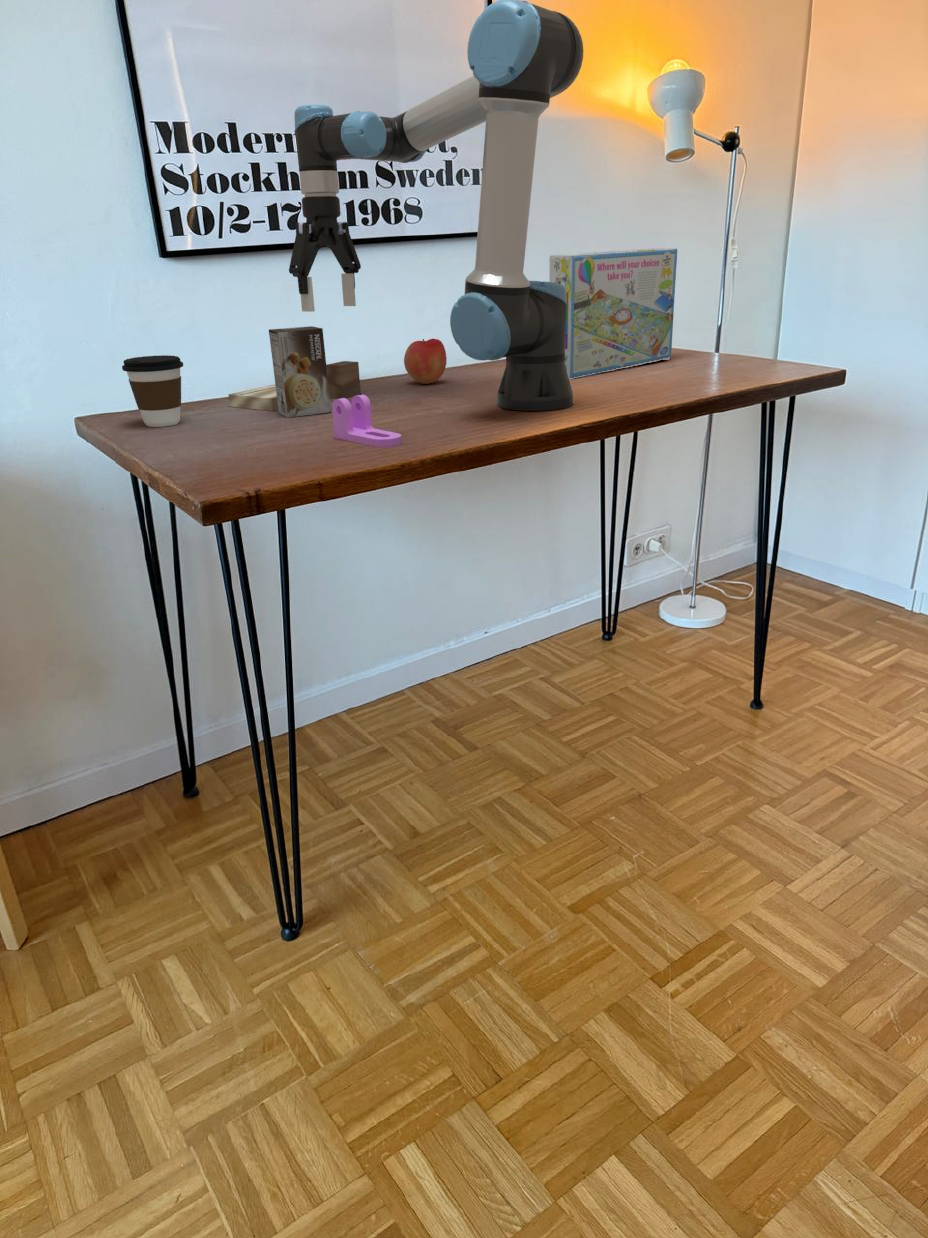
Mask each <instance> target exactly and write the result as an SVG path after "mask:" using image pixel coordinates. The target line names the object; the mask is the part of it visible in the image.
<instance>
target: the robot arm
mask: <svg viewBox="0 0 928 1238" xmlns="http://www.w3.org/2000/svg"><path fill="white" fill-rule="evenodd" d="M584 51H585V50H584V42H583V38H582V36H581V33H580V31H579V28H578V27H577V25H576V24H575V22H574V21H573V20H572V19H570V18H569V16H567V15H565V14H564V13H561V12H558V11H555V10H552V9H551V10H550V9H548V8H545V7H542V6H539V5H536V4H534V3H531V2H529V1H527V0H497V1H494V2H492V3H491V4H489V5H488V6H487V7H485V9H484V10H483V11H482V13H481V14H480V15H479V16H478V17H477V18H476V20H475V21H474V24H473V26H472V27H471V31H470V34H469V37H468V42H467V61H468V65H469V69H470V70H471V71H472V76H470V77H468V78H466V79H464V80H462V81H460V82H459V83H457V84H455V85H453V86H451V87H449V88H448V89H445V90H443V91H442V92H440V93H438V94H436V95H434V96H433V97H430V98H429V99H427V100H425V101H423V102H421V103H419V104H417V105H414V107H412V108H409V109H408V110H406V111H404V112H403V113H400V114H399V115H396V116H394V117H389V116H380V115H378V114H376V112H373V111H367V110H366V111H360V110H358V111H353V112H350V113H344V114H336V115H334V112H333V108H332V107H330V106H329V105H325V104H309V105H308V104H307V105H305V104H304V105H300V106H298V107H296V109H295V110H294V135H295V144H296V152H297V163H298V173H299V181H300V182H299V183H300V184H299V185H300V192H301V195H304V197H302V198H301V207H302V209H301V210H302V216H303V217H304V218H305V219H306V222H296V224H295V238H294V244H293V248H292V254H291V258H290V262H289V268H288V273H289V274H291V275H292V276H293V277H294V278H297V285H298V294H299V295H300V302H301V305H300V306H301V312H307V313H309V312H312V313H313V312H315V311H316V308H315V300H314V299H315V298H314V289H313V288H314V287H313V279H312V276H309V275H310V272H311V270H312V267H313V265H314V263H315V260H316V258H317V255H318V253H319V251H320V249H322V248H323V247H325V248H326V247H327V248H328V249H330V250H331V252H332V254H333V255H334V258H335V259H336V260H337V262H338V264H339V265H340V267H341V269H342V271H343V273H340V276H341V287H342V288H341V289H342V301H343V307H356V302H357V301H356V279H355V274H357V273H359V271H360V270H361V268H362V266H361V265H362V264H361V262H360V259H359V256H358V253H357V251H356V249H355V248H356V247H355V246H354V242H353V240H352V238H351V234H350V229H349V228H350V227H349V223H348V222H347V221H343V222H342V221H341V222H340V221H339V222H338V218H339V217H340V216H341V202H340V198H339V196H337V194H339V193H340V185H339V175H338V172H339V171H338V162H337V161H343V160H344V161H345V160H346V161H347V160H363V161H365V160H368V161H384V162H395V163H396V162H397V163H402V164H407V163H415V162H417V161H419V160H421V159H422V158H423V157H424V155H425V153H426V152H427V150H429V149H430V148H433V147H435V146H437V145H439V144H441V143H443V142H445V141H448V140H450V139H451V138H454V137H456V136H458V135H460V134H462V133H465V132H466V131H469V130H470V129H473V128H475V127H477V126H479V125H481V124H483V123H485V130H484V131H485V132H484V144H483V155H482V169H481V170H482V171H481V184H480V197H479V210H478V212H479V213H478V223H477V226H478V227H477V239H476V251H475V265H474V269H473V270H472V271H471V272H470V273H468V274H467V276H466V277H465V283H464V295H461V296H460V297H459V298H458V299H457V301H456V302H454V304H453V306H452V307H451V308H452V309H451V312H450V317H449V318H450V319H449V323H450V325H449V326H450V330H451V335H452V337H453V340H454V341H455V343H456V345H457V346H459V349H460V351H462V353H464V354H465V355H466V356H467V357H469V358H471V359H473V360H477V361H498V360H501V359H503V358H505V367H504V371H503V374H502V377H501V380H500V384H499V387H498V391H497V396H496V397H497V402H496V403H497V406H498V407H499V408H503V409H506V410H507V409H508V410H513V411H522V412H523V411H524V412H526V411H527V412H528V411H530V412H531V411H533V412H537V411H540V412H541V411H552V410H553V411H555V410H561V409H565V408H568V407H571V406H572V405H574V404H573V403H574V393H573V388H572V385H571V381H570V380H569V377H568V374H567V371H566V367H565V337H566V308H567V302H566V290H565V288H564V286H563V285H561V284H559V283H554V282H550V281H540V280H529V279H528V278H527V277H526V275H525V274H524V266H525V256H526V246H527V238H528V237H527V236H528V229H529V228H528V227H529V217H530V206H531V197H532V189H533V188H532V187H533V175H534V166H535V157H536V156H535V155H536V150H537V149H536V146H537V137H538V136H537V135H538V130H539V128H538V126H539V118H540V116H541V115H542V114H543V113H544V112H545V111H546V110H547V109H548V108H549V107H550V102H551V99H552V98H554V97H556V96H558V95H560V94H562V93H563V92H565V91H566V90H568V88H569V87H571V85H572V84H573V83H574V82H575V80H576V79H577V77H578V76H579V74H580V72H581V69H582V65H583V60H584Z"/></svg>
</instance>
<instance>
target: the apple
mask: <svg viewBox="0 0 928 1238" xmlns="http://www.w3.org/2000/svg"><path fill="white" fill-rule="evenodd" d="M403 364H404V368H405V371H406V373H407V375H409V376H410V378H412V379H413V380H414V381H416V382H417V383H418V384H422V385H429V384H433V383H435V382H437V381H438V380H439V379H441V377H442V375H443V374H444V372H445V370H446V367H447V352H446V348H445V346H444V344H443V342H442V340H440V339H437V338H430V339H427V340H425V339H424V338H422V340H416V341H413V342H411V343H410V344H409V346H408V347H407V348H406V350H405V353H404V357H403Z"/></svg>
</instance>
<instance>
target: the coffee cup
mask: <svg viewBox="0 0 928 1238" xmlns="http://www.w3.org/2000/svg"><path fill="white" fill-rule="evenodd" d="M182 367H184V362H183V361H181V358H180V357H179V356H178V355H167V354H166V355H147V356H145V355H144V356H138V357H136V356H135V357H131V358H130V357H129V358H127V359H124V360H123V365H121V368H122V369H121V370H122V371H123V372H126V374H127V376H128V377H127V378H128V383H129V386H130V389H131V391H132V395H133V397H134V400H135V403H136V406H137V408H138V410H139V412H140V415H141V418H142V421H143V422H144V424H145V426H146V427H150V428H160V427H161V428H162V427H163V428H164V427H169V426H170V427H171V426H175V425H178V424H180V420H181V406H182V376H181V368H182Z"/></svg>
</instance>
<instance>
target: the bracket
mask: <svg viewBox="0 0 928 1238" xmlns="http://www.w3.org/2000/svg"><path fill="white" fill-rule="evenodd" d="M331 412H332V420H333V421H332V425H333V434H334V439H337V440H338V439H339V440H342V441H347V442H351V443H357V444H361V445H365V446H370V447H376V448H391V447H396V446H399V445H402V434H401V433H398V432H393V431H389V430H384V429H378V428H374V426H373V416H372V415H373V414H372V413H373V412H372V404H371V401H370V399H369V397H368V396H367V395H366V394H361V395H357V396H354V397H352V399H351V402H350V401H349V399H348V398H341V399H334V400H333V402H332V404H331Z"/></svg>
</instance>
